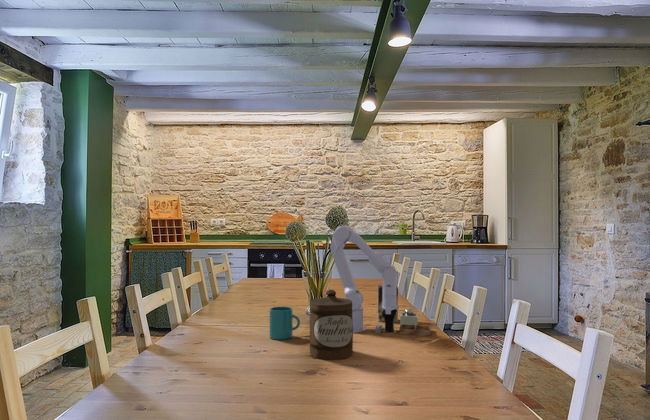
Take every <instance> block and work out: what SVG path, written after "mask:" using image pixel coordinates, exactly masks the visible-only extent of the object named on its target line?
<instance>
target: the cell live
mask: <svg viewBox="0 0 650 420" xmlns="http://www.w3.org/2000/svg"><path fill="white" fill-rule="evenodd" d="M394 329H395V322H394V320H393V326H392V330H387V329H386V325H385V324H384V330H385V332H386V333H395V332H394Z"/></svg>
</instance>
